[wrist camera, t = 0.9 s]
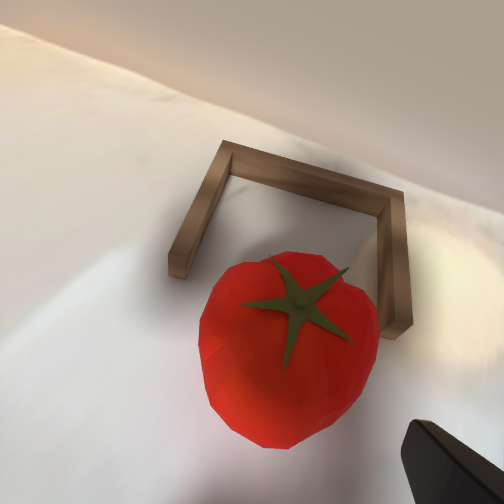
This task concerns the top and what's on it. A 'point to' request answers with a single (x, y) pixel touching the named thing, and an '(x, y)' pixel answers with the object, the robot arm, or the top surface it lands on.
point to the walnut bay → (321, 188)
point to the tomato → (286, 347)
